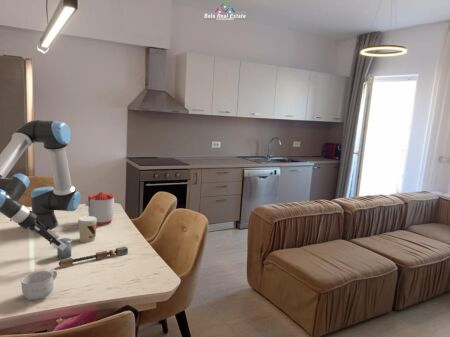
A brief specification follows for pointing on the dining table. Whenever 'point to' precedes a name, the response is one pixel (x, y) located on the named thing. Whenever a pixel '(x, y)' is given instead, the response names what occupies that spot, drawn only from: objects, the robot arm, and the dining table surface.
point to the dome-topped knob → (67, 251)
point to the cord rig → (94, 256)
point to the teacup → (38, 284)
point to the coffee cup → (87, 228)
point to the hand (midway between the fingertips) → (61, 243)
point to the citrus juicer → (101, 207)
